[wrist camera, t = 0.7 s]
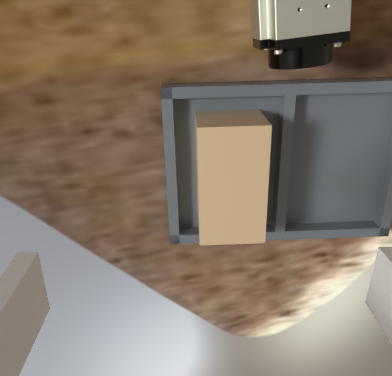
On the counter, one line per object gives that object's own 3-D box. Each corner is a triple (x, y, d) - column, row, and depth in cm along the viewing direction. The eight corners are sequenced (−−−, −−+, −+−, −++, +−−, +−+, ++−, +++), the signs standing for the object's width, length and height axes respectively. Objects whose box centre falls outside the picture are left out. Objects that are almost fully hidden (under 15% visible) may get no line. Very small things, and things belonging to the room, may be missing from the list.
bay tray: (161, 83, 35) (157, 97, 29) (407, 76, 35) (453, 88, 29) (170, 232, 41) (168, 268, 35) (378, 225, 42) (410, 260, 36)
